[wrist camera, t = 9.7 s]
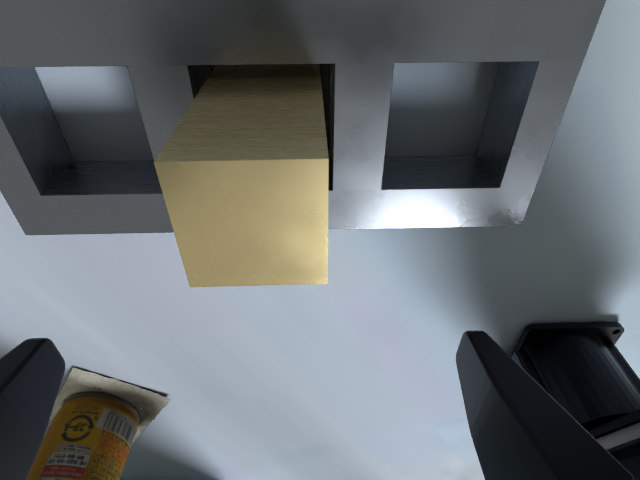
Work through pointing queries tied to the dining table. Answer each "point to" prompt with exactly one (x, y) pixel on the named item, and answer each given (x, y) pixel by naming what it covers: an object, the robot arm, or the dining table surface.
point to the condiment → (93, 428)
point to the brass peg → (251, 178)
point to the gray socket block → (290, 48)
